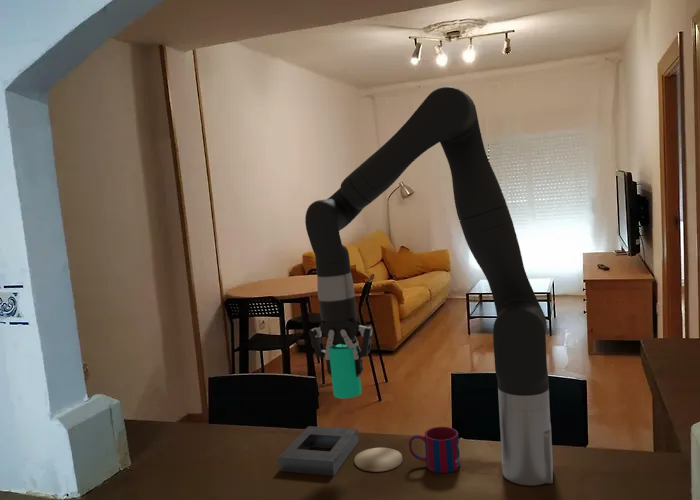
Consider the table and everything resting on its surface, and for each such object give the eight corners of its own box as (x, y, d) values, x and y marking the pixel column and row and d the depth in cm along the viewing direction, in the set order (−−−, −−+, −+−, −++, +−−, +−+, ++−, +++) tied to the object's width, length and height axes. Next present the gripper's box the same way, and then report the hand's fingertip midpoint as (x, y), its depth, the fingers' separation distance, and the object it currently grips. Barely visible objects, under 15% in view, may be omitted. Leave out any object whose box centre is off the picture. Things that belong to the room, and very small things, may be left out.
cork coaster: (407, 451, 130) (407, 449, 129) (395, 473, 120) (395, 471, 120) (362, 448, 133) (362, 446, 133) (348, 469, 123) (347, 467, 123)
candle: (362, 387, 129) (356, 332, 128) (360, 397, 123) (354, 340, 122) (335, 389, 130) (329, 335, 129) (331, 399, 124) (325, 342, 123)
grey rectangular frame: (358, 441, 136) (357, 429, 136) (333, 475, 121) (332, 461, 121) (309, 438, 140) (308, 426, 140) (279, 471, 125) (278, 457, 125)
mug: (457, 474, 118) (455, 441, 117) (407, 471, 121) (405, 438, 120) (462, 459, 124) (460, 427, 123) (414, 456, 127) (412, 425, 126)
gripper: (374, 290, 126) (383, 370, 127) (311, 294, 131) (320, 370, 132) (364, 297, 119) (373, 381, 120) (297, 301, 124) (307, 382, 125)
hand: (345, 375), depth 126 cm, fingers closed on candle, 4 cm apart
